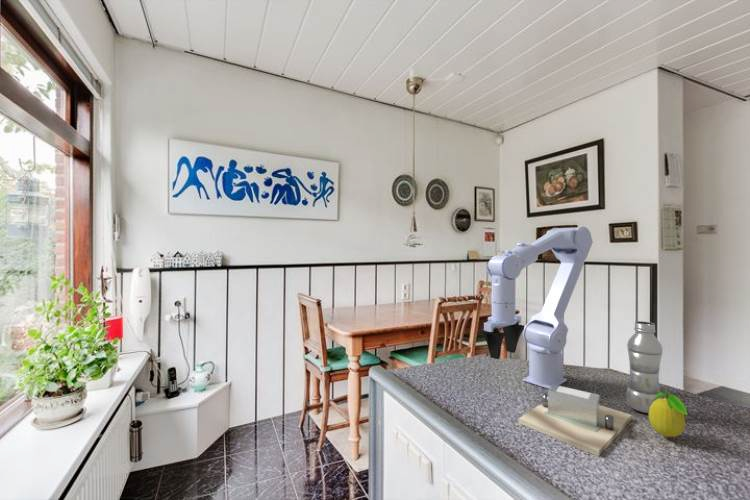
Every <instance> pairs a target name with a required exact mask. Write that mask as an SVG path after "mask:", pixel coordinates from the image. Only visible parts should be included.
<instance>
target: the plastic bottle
mask: <svg viewBox="0 0 750 500" xmlns="http://www.w3.org/2000/svg"><path fill="white" fill-rule="evenodd" d="M634 331H635V333H633V335H631V337H630V338H629V339H628V342H627V344H626V346H627V353H628V360H629V378H628V386H627V389H626V394H625V396H626V398H625V399H626V403H627V404H628V406H629V407H630V408H632V409H633V410H635V411H638V412H640V413H643V414H649V409H650V406H651V405H652V403H653V402H654V401H656V400H657V399H660V398H662V397H660V398H657V399H656V400H654V398H655V397H656V395H657V394H658V393H659V392H661V390H660V379H659V378H660V368H661V367H660V365H661V361H662V355H663V345H662V343H661V342H660V340H659V339H658V338H657V336H656V335H655V333H656V325H655V323H653V322H649V321H641V320H640V321H639V320H638V321H635V322H634ZM653 400H654V401H653ZM652 401H653V402H652Z"/></svg>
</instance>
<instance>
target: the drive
mask: <svg viewBox="0 0 750 500" xmlns="http://www.w3.org/2000/svg"><path fill="white" fill-rule="evenodd" d="M547 395H548V413H549V414H553V415H556V416H560V417H563V418H567V419H570V420H574V421H577V422H581V423H585V424H588V425H592V426H595V427H597V424H598V420H599V405H600V394H597V393H593V392H588V391H585V390H581V389H576V388H572V387H568V386H562V385H555V384H552V386H551V387H550V388H549V389H548V390H547Z"/></svg>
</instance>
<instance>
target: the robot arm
mask: <svg viewBox="0 0 750 500" xmlns="http://www.w3.org/2000/svg"><path fill="white" fill-rule="evenodd" d="M593 243H594V241H593V237H592V233H591V232H590V230H589V229H588V227H586V226H579V227H577V226H576V227H560V228H559V227H553V228H551V229H549V230H547V231H546V234H544V235H542V236H541V237H539V238H537V239H536V240H534V241H533V242H532V243H528V242H518V243H516V246H515V247H513V248H511V249H510V250H507V249H506V250H505V251H504V253H502V254H501V255H500V254H499V255H498V254H496V255H494V256H492V257H491V258H490V259H489V261H488V263H487V265H486V271H487V273H488V275H489V281H490V283H491V316H488V317H487V321H486V322H483V328H481V335H482V336H483V338H484V339H485V341H486V345H487V349H488V352H489V356H490V359H491V358H492V359H495V360H500V358H501V353H502V344H503V341H504V344H505V350H506V352H508V353H512V354H515V353H516V350H517V347H518V343H519V340H520V337H521V335H522V338H523V341H524V342H525V343H526V346H527V348H528V349H529V353H528V354H529V358H528V361H529V363H528V371H529V372H528V376H526V377H523V378H522V381H523V382H525V383H529V384H532V385H535V386H538V387H542V388H546V389H548V390H549V388H550V387H551V386H552V384H555V385H559V386H562V384H563V383H565V382H568V381H567V380H568V379H567V378H564V356H563V355H564V354H563V353H562V351H563V349H564V348H565V347H566V345H567V336H568V332H569V328H568V326H567V325H566V323H565V322H564V321H563V317H564V315H565V313H566V310H567V307H568V305H569V302H570V300H571V298H572V295H573V293H574V290H575V287H576V285H577V282H578V280H579V278H580V274H581V272H582V270H583V267H584V266H585V265H584V264H585V261H586V260H587V258H588V256H589V254H590V250H591V248H592V245H593ZM549 250H551V251H552V253H553V255H554V256H555V258H556V259H557V260H559V261H560V265H559V268H558V269H557V272H556V274H555V276H554V280H553V282H552V285H551V287H550V290H549V292H548V295H547V297H546V299H545V302H544V303H543V306H542V309H541V311H540V312H538V313H536V314H534V315H532V316H531V317H530V319H529V321H528V322H527V323H526V324H525V325H524V324H523V325H522V316H521V315H516V283H517V282H516V279H518V277H519V276H520V274H521V272H522V270H524V269H525V268H527V267H528V266H530V265H533V264H534V263H535V262H536V261H537V260H538V257H539V255H541V254H543V253H545V252H547V251H549ZM499 329H501V330H502V331H503V332H501V331H500V330H499Z"/></svg>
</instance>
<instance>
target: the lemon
mask: <svg viewBox="0 0 750 500" xmlns="http://www.w3.org/2000/svg"><path fill="white" fill-rule="evenodd" d="M660 397H661V398H660ZM662 397H664V398H662ZM657 398H660V399H657ZM656 399H657V400H656ZM654 400H656V401H654ZM654 400H653V401H654V402H653V401H652V402H653V403H652V405H651V406H650V409H649V413H648V421H649V423H650V426H651V428H653V430H655V431H656V432H658V433H659V434H660V435H662V436H663V437H665V438H670V437H678V436H680V435H682V433H683V432H684V430H685V427H686V417H685V415H686V416H688V415H689V414H688V412H687V411H688V410H687V408H686V406H685V404H684V403H683V402H682V400H681V399H680V398H679V397H677V396H676V395H675V394H671V393H670V392H669V391H668V387H667V386H665V393H663V392H661V391H660V392H659V393H658V394H657V395H656V397H655V398H654Z"/></svg>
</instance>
